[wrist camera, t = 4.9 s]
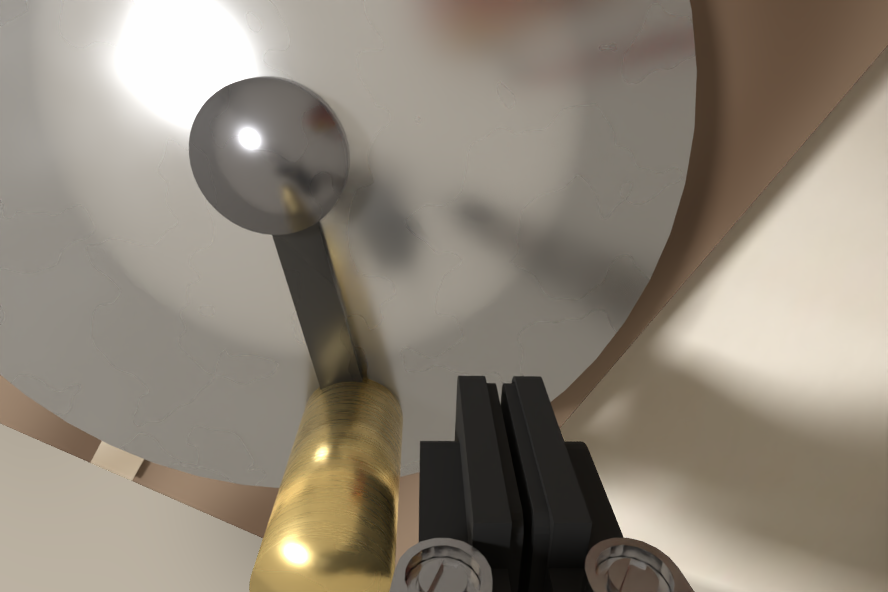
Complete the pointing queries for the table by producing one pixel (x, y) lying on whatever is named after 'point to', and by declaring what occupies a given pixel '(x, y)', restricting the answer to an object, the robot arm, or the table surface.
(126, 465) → the base board
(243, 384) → the dial
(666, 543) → the table surface
